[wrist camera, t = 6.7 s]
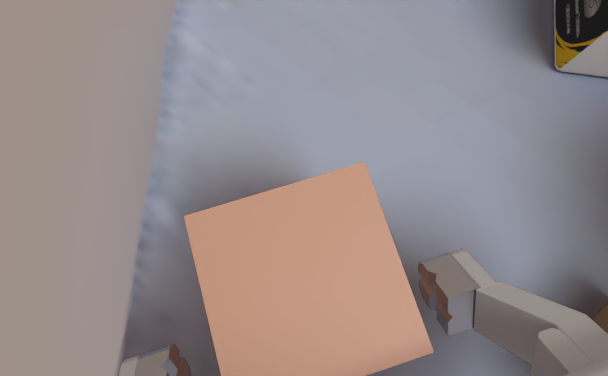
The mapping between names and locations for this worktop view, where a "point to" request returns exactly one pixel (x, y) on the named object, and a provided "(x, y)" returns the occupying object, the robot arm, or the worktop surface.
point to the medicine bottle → (581, 36)
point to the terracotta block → (306, 281)
